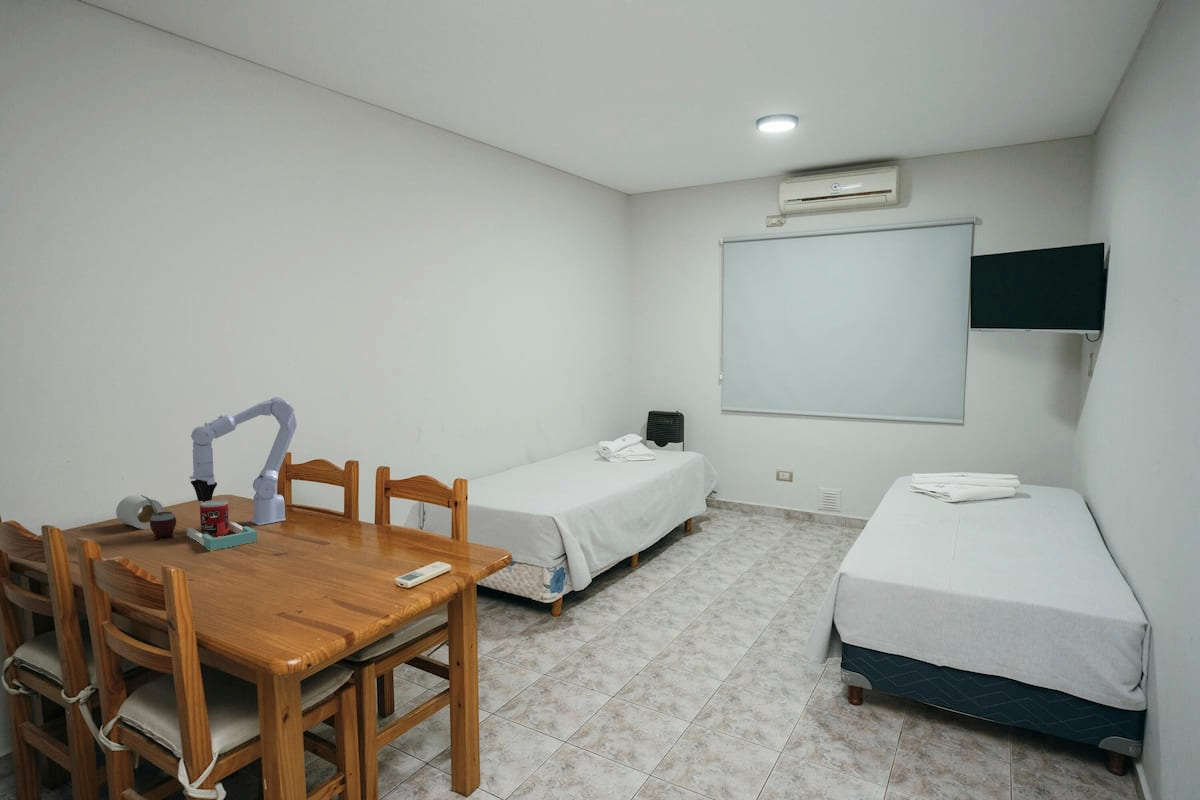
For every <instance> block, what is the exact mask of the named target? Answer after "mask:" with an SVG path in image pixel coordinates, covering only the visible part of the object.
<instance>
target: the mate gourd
mask: <svg viewBox="0 0 1200 800" xmlns="http://www.w3.org/2000/svg"><path fill="white" fill-rule="evenodd" d="M140 496H142V497H144V498H146V499H147V500H148V501H149V503H150V504H151V506H152V508H153V510H154V512H155V514H153V516H152V517H151V520H150V527H151V528H150V529H151V531H152V532H153V534H154V536H153V538H155V541H157V542H158V541H161V540H163V539H168V538H172V539H174V536H173V533H174V530H175V529H176V525H177V519H176V516H175V514H174V512H172V511H163V512H159V513H157V511H156V509H155V507H154V505H153V502H152V500H150V499H151V498H149V497H147V496H145V495H142V494H140ZM160 539H161V540H160Z"/></svg>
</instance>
